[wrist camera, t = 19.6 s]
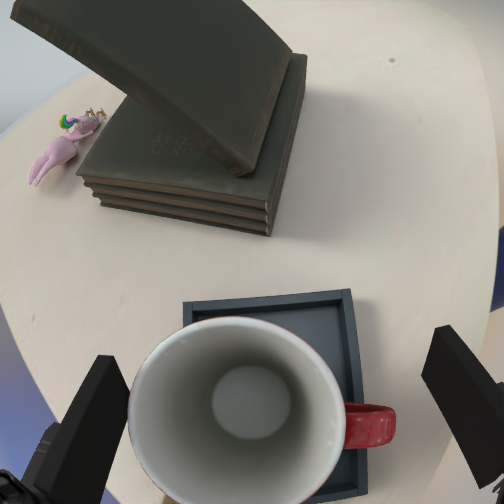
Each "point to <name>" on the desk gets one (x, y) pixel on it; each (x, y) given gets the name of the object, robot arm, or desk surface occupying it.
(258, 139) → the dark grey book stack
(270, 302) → the tray
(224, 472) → the mug
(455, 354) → the robot arm
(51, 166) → the pink toy figure
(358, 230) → the desk surface
